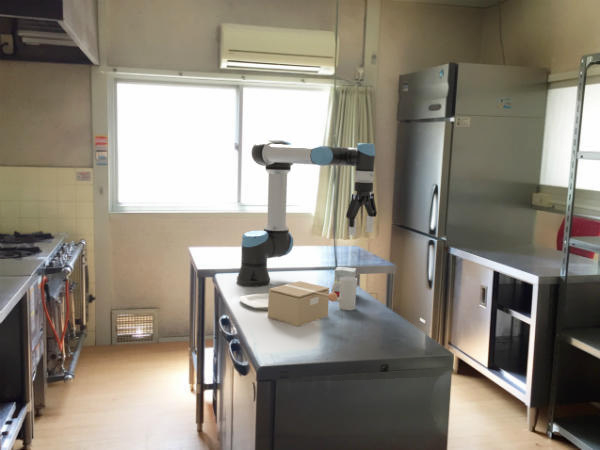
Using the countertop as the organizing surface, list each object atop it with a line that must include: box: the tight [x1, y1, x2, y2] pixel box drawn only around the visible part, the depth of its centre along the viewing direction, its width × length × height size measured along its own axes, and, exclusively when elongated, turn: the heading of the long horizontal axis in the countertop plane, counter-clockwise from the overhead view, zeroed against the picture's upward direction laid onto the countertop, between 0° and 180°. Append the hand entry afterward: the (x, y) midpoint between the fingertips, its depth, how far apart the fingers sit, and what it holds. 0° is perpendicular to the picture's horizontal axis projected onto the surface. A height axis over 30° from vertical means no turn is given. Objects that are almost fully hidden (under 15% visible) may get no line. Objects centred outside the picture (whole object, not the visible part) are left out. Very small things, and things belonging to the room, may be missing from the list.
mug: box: [330, 277, 358, 311], centre depth 222 cm, size 10×7×12 cm, turn 101°
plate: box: [239, 293, 269, 310], centre depth 224 cm, size 19×19×2 cm
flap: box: [268, 280, 338, 303], centre depth 205 cm, size 24×18×3 cm
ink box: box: [333, 266, 357, 298], centre depth 242 cm, size 9×9×12 cm
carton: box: [267, 289, 330, 327], centre depth 208 cm, size 14×18×10 cm
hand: (360, 233), depth 232 cm, fingers open, 13 cm apart
